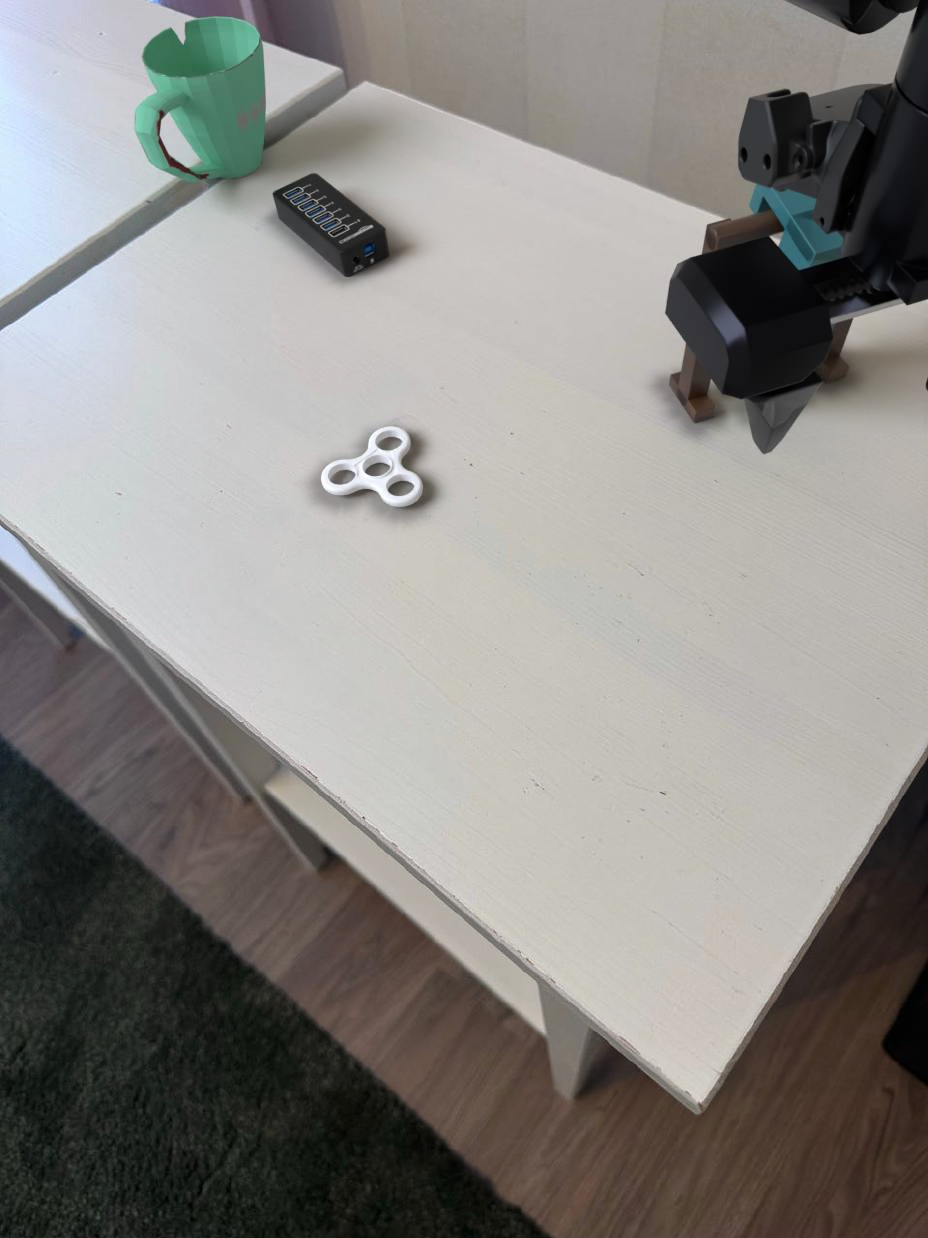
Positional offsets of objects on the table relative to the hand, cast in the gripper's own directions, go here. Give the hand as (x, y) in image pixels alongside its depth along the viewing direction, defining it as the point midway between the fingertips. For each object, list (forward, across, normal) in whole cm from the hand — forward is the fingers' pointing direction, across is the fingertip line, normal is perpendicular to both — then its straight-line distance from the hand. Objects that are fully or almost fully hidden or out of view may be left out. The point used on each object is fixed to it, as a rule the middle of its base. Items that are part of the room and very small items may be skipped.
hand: (848, 419), depth 43 cm
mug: (+13, +25, -56) cm, 63 cm away
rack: (+13, -6, -15) cm, 21 cm away
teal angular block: (+12, -6, -16) cm, 21 cm away
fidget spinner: (+13, +21, -16) cm, 29 cm away
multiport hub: (+13, +17, -44) cm, 49 cm away
